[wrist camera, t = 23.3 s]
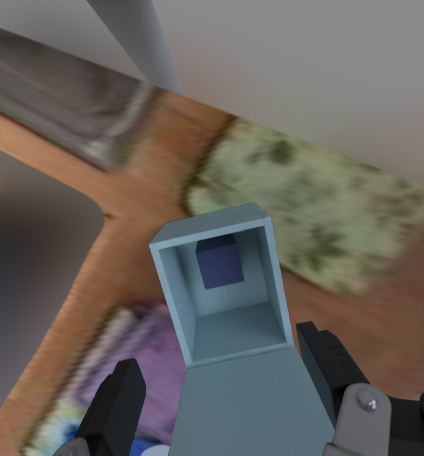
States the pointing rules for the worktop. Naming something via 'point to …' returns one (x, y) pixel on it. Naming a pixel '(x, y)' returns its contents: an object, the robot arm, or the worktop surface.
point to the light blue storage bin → (223, 288)
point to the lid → (251, 409)
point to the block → (219, 261)
